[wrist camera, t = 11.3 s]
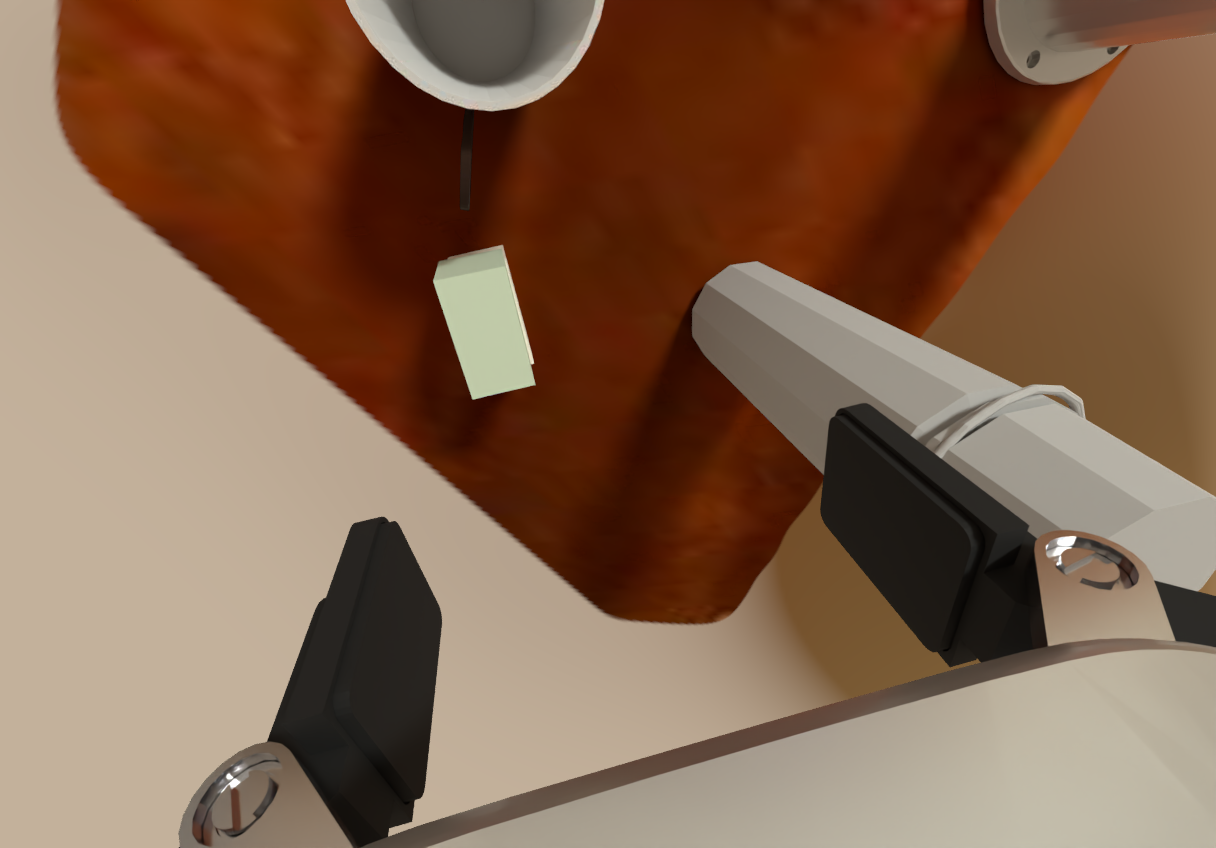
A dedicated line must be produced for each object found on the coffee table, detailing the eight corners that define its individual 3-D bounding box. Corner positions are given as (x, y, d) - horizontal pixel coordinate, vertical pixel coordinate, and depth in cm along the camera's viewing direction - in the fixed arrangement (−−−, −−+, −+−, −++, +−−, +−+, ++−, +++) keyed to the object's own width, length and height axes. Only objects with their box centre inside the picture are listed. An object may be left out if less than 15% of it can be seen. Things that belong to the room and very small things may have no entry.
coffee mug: (432, -174, 21) (401, -376, 13) (598, -9, 25) (660, -80, 17) (319, 94, 25) (236, 76, 16) (480, 203, 28) (481, 235, 20)
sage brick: (439, 261, 26) (432, 281, 22) (501, 248, 26) (505, 266, 23) (473, 367, 29) (472, 399, 26) (528, 355, 29) (535, 384, 26)
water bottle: (673, 360, 36) (952, 692, 15) (702, 245, 32) (1127, 466, 11) (786, 370, 38) (1163, 667, 17) (825, 264, 35) (1361, 475, 14)
